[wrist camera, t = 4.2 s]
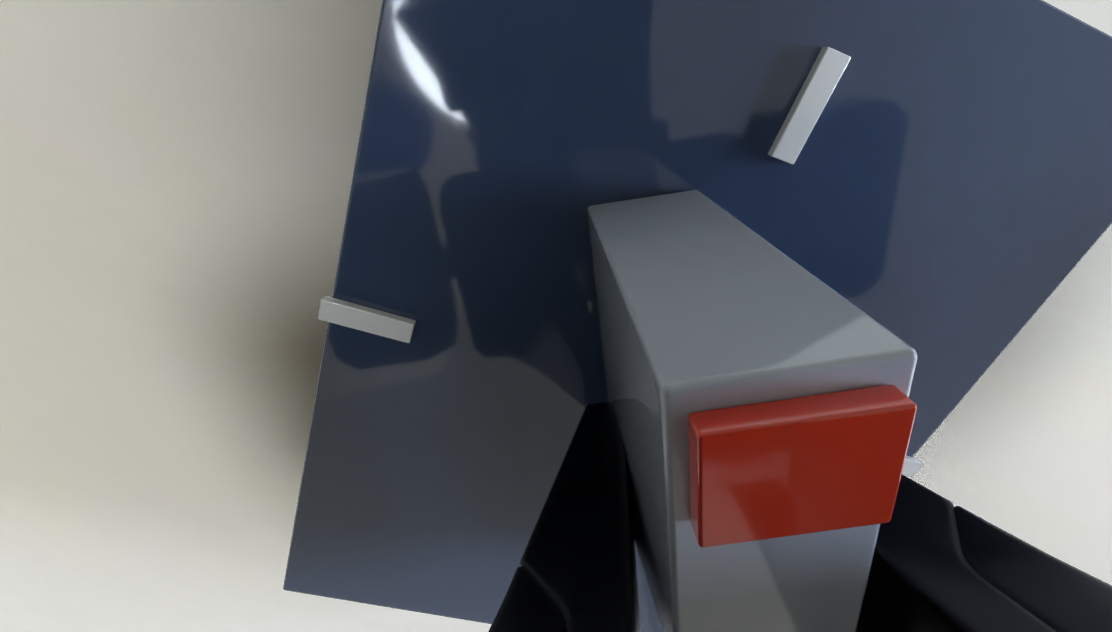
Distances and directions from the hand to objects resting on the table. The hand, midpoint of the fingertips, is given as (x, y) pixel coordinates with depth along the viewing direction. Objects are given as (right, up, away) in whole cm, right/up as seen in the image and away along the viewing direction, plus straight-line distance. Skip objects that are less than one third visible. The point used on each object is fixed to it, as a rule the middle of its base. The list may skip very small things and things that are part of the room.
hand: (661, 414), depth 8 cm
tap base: (0, +2, +3) cm, 4 cm away
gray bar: (0, 0, 0) cm, 0 cm away
